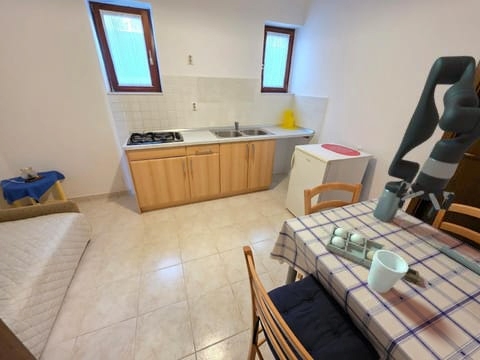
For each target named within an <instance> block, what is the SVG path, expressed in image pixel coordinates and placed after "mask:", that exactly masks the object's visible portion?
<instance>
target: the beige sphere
mask: <svg viewBox="0 0 480 360" xmlns="http://www.w3.org/2000/svg"><path fill="white" fill-rule="evenodd" d="M375 253H376V251H369V252H368V253H367V259H368V260H369V261H371V262H372V261H373V256H374V254H375Z"/></svg>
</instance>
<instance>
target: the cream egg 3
mask: <svg viewBox="0 0 480 360" xmlns="http://www.w3.org/2000/svg"><path fill="white" fill-rule="evenodd" d="M353 234H354V235H352V236H351V242H352V243H354V244H357V245H362V244H363V241H364V240H363V237H364V236H362V235H361V234H359V233H353Z"/></svg>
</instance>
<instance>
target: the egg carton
mask: <svg viewBox="0 0 480 360" xmlns="http://www.w3.org/2000/svg"><path fill="white" fill-rule="evenodd" d="M338 228H339V227H337V226H333V227H332V229H331V233H330V235H329V238H328V241H327V243H326V247H325V250H326V249H327V251H330V253H333V254H336V255H338V256H340V257H343V258H346V259H348V260H349V261H352V262H355V263H357V264H359V265H361V266H363V267H366V268H369V269H371V265H372V262H371V261H369V260H368V259H367V253H368V252H369V251H377V250H381V249H382V250H386V248H385V245H386V244H383V243H380V242H377V241H374V240H372V239H369V238H367V237H364V236H362V237H363V240H364V241H363V244H362V245H357V244H354V243H352V242H351V236H352V235H354V234H355V233H353V232H350V231H348V230H345V231H346V233H347V236H346V237H345V238H344V239H343V240H344V246H343V247H342V248H338V247H335V246H333V245H332V239H333V238H334V237H336V236H335V230H336V229H338Z"/></svg>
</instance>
